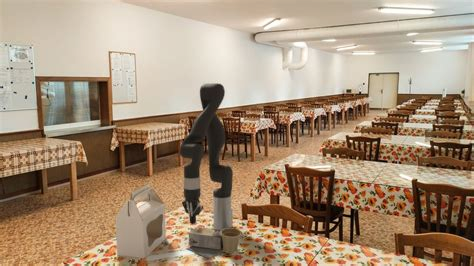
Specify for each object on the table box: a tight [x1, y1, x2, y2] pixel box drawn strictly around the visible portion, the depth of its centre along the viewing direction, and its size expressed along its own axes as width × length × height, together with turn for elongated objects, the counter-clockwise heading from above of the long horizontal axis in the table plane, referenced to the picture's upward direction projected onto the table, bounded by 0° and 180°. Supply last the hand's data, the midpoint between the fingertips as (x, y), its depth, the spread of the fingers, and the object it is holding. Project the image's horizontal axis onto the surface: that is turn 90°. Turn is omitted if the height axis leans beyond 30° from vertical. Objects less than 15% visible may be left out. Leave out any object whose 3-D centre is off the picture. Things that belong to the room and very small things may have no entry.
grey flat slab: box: [186, 246, 224, 260], centre depth 166 cm, size 9×14×1 cm, turn 47°
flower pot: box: [221, 227, 243, 254], centre depth 165 cm, size 9×9×9 cm
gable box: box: [115, 183, 167, 259], centre depth 169 cm, size 22×13×28 cm, turn 166°
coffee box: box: [188, 226, 223, 251], centre depth 171 cm, size 9×6×16 cm
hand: (192, 223), depth 169 cm, fingers closed
